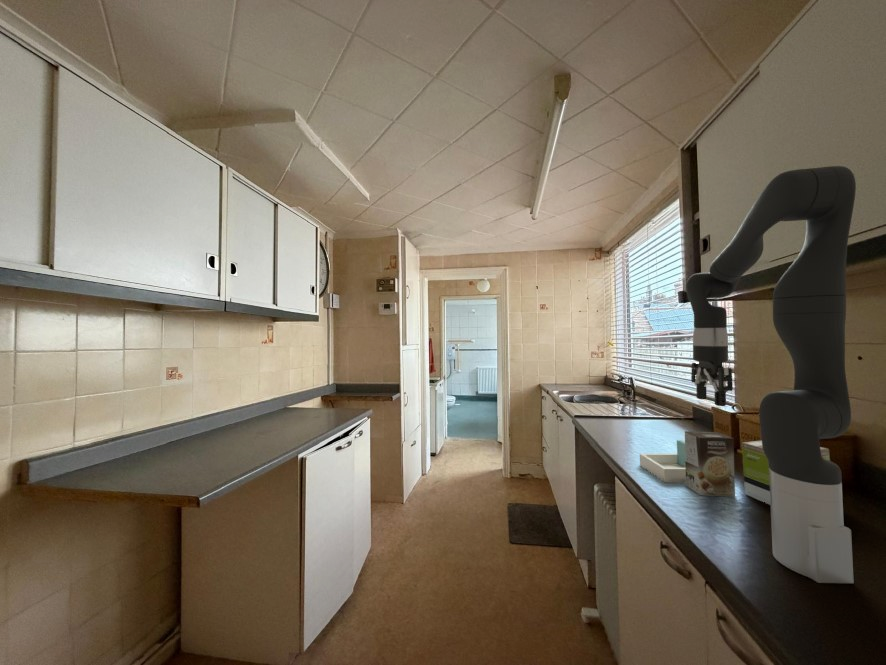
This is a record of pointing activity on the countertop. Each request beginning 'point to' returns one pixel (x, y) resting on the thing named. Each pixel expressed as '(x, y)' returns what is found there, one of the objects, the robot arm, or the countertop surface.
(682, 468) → the white rectangular tray
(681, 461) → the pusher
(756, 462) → the tea box
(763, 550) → the countertop surface
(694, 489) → the coffee box
